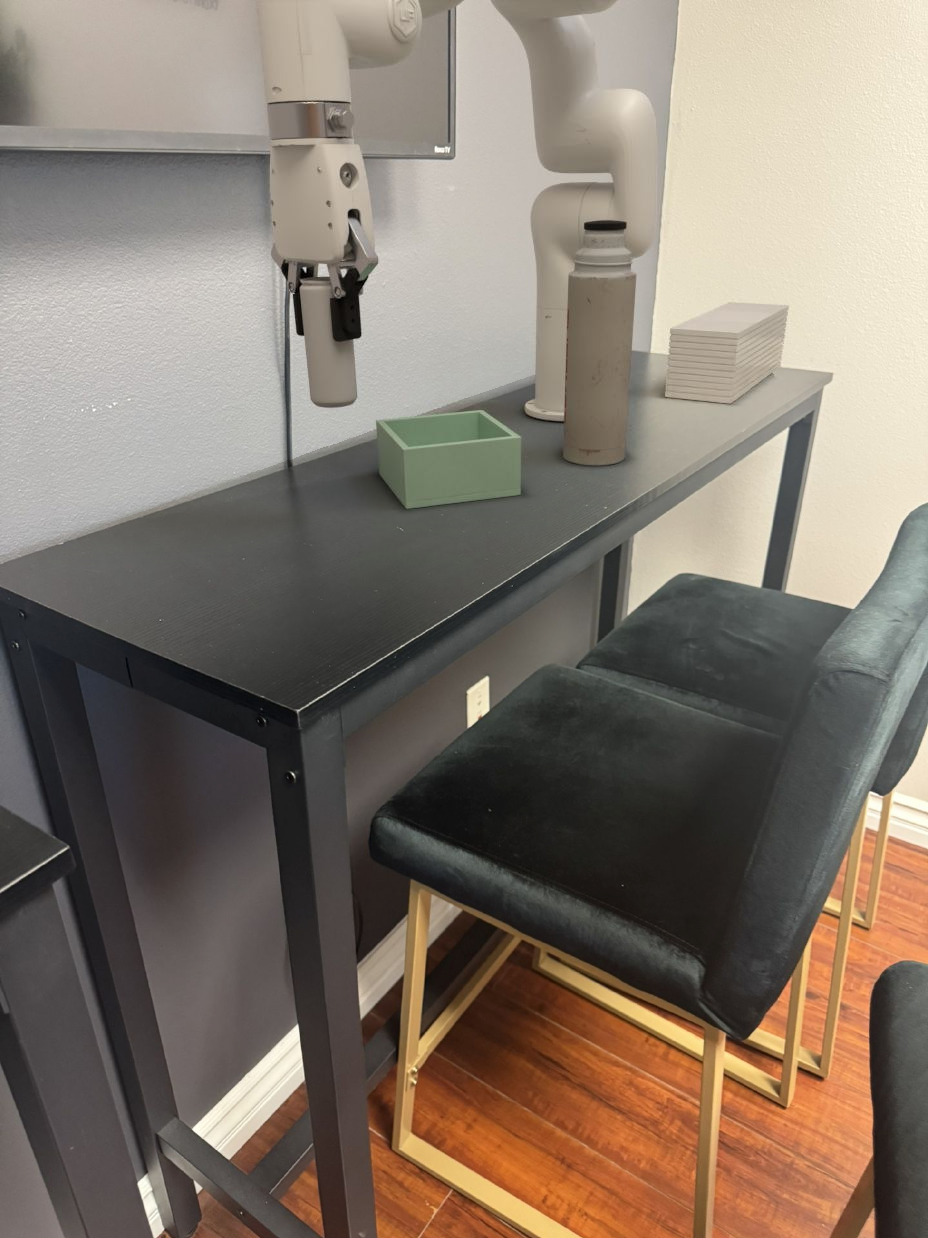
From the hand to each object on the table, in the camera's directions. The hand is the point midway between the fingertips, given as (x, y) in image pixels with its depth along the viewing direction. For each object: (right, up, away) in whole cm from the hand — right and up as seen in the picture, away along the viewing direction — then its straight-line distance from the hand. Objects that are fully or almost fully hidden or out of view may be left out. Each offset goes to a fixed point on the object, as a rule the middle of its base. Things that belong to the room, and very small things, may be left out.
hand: (328, 334), depth 89 cm
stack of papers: (+59, +13, +66) cm, 89 cm away
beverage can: (0, -6, +3) cm, 7 cm away
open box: (+11, -12, +18) cm, 25 cm away
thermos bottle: (+30, -7, +27) cm, 41 cm away
